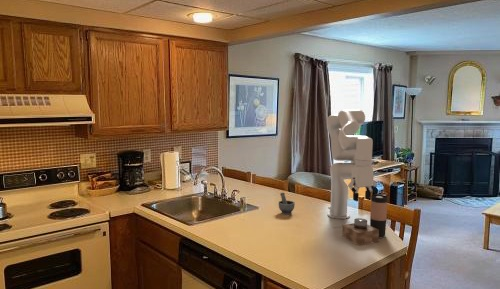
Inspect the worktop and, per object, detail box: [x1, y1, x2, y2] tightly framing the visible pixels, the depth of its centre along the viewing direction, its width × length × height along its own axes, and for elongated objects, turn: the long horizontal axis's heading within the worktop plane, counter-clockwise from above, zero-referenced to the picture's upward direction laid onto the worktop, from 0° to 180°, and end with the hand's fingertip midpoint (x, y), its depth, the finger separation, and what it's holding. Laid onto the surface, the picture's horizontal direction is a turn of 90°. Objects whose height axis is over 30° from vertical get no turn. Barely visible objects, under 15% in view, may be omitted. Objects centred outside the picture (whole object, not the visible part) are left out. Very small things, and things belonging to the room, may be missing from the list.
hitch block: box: [341, 222, 380, 246], centre depth 175 cm, size 12×12×6 cm
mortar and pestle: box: [278, 192, 296, 216], centre depth 216 cm, size 11×9×12 cm
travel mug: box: [369, 193, 388, 238], centre depth 180 cm, size 8×8×20 cm
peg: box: [353, 217, 368, 229], centre depth 175 cm, size 6×6×9 cm
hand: (361, 199), depth 174 cm, fingers open, 6 cm apart
